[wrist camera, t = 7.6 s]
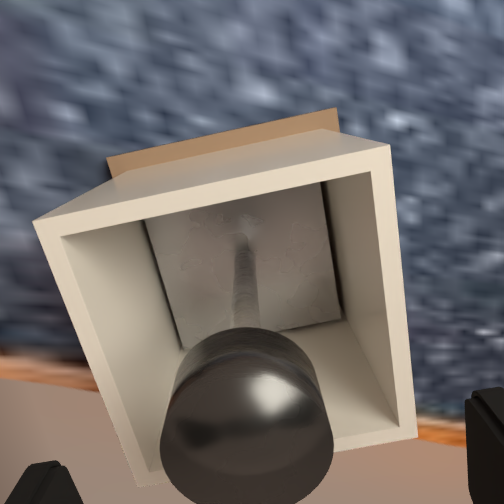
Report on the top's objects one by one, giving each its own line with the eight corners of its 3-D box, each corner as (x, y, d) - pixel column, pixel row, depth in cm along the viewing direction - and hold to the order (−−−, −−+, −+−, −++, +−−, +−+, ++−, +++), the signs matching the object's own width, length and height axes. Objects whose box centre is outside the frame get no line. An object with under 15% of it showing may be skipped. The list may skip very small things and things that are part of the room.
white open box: (332, 107, 25) (418, 105, 13) (361, 314, 30) (444, 459, 18) (111, 156, 26) (-9, 198, 14) (172, 351, 30) (125, 514, 18)
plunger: (313, 155, 23) (427, 229, 9) (338, 312, 26) (451, 553, 12) (140, 192, 23) (-18, 320, 9) (185, 342, 26) (120, 607, 12)
